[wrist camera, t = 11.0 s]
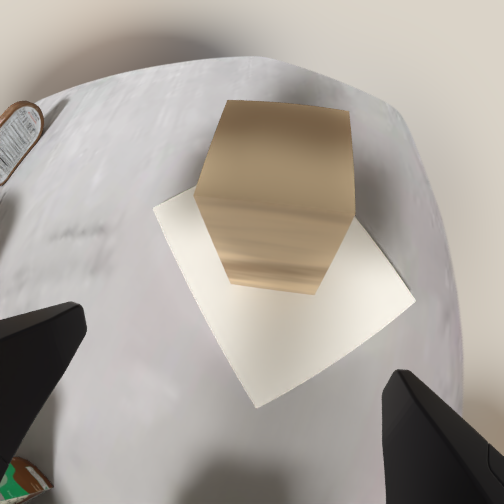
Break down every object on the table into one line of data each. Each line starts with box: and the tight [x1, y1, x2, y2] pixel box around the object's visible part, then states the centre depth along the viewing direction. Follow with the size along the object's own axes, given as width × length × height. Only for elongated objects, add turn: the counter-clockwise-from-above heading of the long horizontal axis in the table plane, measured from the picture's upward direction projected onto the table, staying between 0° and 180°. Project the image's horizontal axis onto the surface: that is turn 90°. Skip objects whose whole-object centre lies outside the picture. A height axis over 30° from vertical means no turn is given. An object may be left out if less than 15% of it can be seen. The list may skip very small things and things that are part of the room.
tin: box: [0, 101, 44, 186], centre depth 28 cm, size 15×3×8 cm, turn 153°
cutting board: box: [153, 185, 416, 409], centre depth 22 cm, size 18×14×1 cm
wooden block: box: [193, 100, 355, 295], centre depth 16 cm, size 6×6×11 cm
